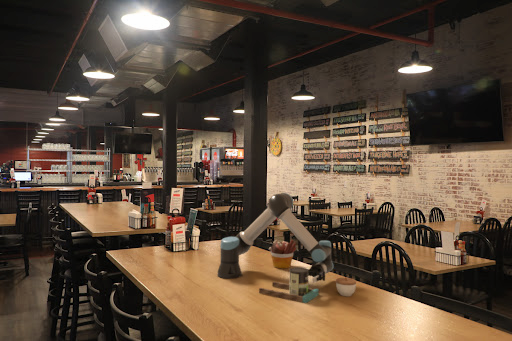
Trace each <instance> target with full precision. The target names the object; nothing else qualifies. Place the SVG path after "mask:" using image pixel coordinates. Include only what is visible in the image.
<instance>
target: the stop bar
mask: <svg viewBox="0 0 512 341" xmlns="http://www.w3.org/2000/svg"><path fill="white" fill-rule="evenodd" d="M313 289H314V290H312V291H311V292H309V293H307V294H306V295H304V296H303V300H302V302H301V303H304V304H307V303H308V302H310V301H311V300H313V299H315V298H317V296H319V295H318V294H319V293H320V292H319V293H318V291H320V290H319V288H313ZM304 299H305V300H304Z"/></svg>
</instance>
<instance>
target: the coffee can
mask: <svg viewBox="0 0 512 341" xmlns="http://www.w3.org/2000/svg"><path fill="white" fill-rule="evenodd" d="M308 269H309V268H305V267H298V266H297V267H291V268H290V267H289V269H288V270H289V271H288V272H289V283H288V284H289V290H288V291H289V294H293V295H298V296H304V295H306V294H307V293H308V288H309V276H308V272H309V270H308Z"/></svg>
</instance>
